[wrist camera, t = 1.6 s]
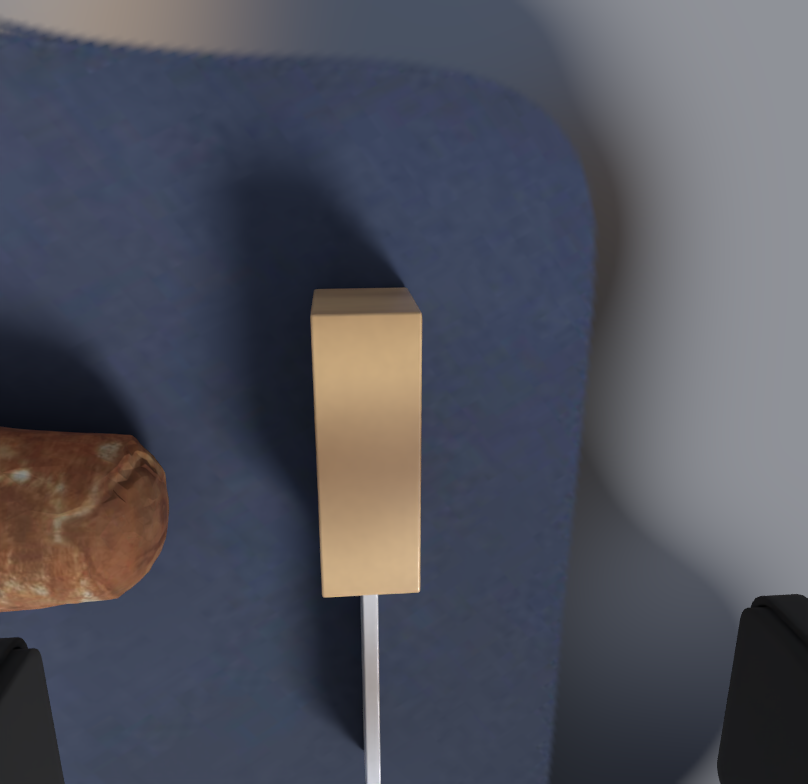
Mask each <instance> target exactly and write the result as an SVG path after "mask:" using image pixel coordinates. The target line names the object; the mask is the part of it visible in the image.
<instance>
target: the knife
mask: <svg viewBox="0 0 808 784" xmlns="http://www.w3.org/2000/svg"><path fill="white" fill-rule="evenodd" d="M310 324H311V347H312V371H313V394H314V418H315V441H316V465H317V488H318V512H319V535H320V559H321V582H322V596H323V597H325V598H326V597H344V596H360V600H361V643H362V686H363V729H364V762H365V781H366V784H381V770H380V700H379V631H378V595H379V594H397V593H415V592H419V591H420V544H421V397H422V313H421V311H420V310H419V308H418V306H417V304H416V303H415V301H414V299H413V297H412V296H411V294H410V292H409V291H408V289H407V288H350V289H315V290H314V294H313V301H312V308H311V315H310Z"/></svg>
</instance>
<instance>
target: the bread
mask: <svg viewBox="0 0 808 784" xmlns="http://www.w3.org/2000/svg"><path fill="white" fill-rule="evenodd" d="M168 516H169V498H168V493H167V488H166V476H165V472H164V470H163V468H162V466H161V465H160V464H159V463H158V462H157V460H156V459H155V457H154V456H153V455H152V454H151V453H150V452H149V451H147V450H146V449H145V448H144V447H143V446H142V445H141V444H140V443H139V441H138V440H137V439H136V438H135V437H134V436H132V435H122V434H104V433H75V432H59V431H41V430H27V429H15V428H7V427H0V612H7V611H19V610H30V609H41V608H46V607H52V606H57V605H62V604H69V603H81V602H89V601H100V600H110V599H115V598H119V597H120V596H121V595H122V594H124V593H125V592H126V591H127V590H129V589H131V588H132V587H133V586H134V585H135V584H137V583H138V582H139V581H140V580H141V579H142V578H143V577H144V576H145V575H146V574H147V573H148V572H149V571H150V569H151V567H152V565H153V563H154V562H155V560H156V559H157V557H158V556H159V554H160V552H161V550H162V547H163V544H164V541H165V539H166V534H167V527H168Z"/></svg>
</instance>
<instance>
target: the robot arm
mask: <svg viewBox="0 0 808 784" xmlns="http://www.w3.org/2000/svg"><path fill="white" fill-rule="evenodd" d="M717 769H718V776H719V780H720V783H721V784H808V598H806V597H805V596H803V595H798V594H791V595H773V596H760V597H757V598H755V600H754V601H753V603H752V605H751V608H747V609H744V611H743V612H742V615H741V618H740V624H739V630H738V636H737V643H736V649H735V655H734V661H733V667H732V673H731V680H730V687H729V692H728V698H727V704H726V711H725V717H724V723H723V729H722V735H721V742H720V748H719V754H718V760H717ZM0 784H65V783H64V778H63V772H62V767H61V761H60V756H59V750H58V745H57V739H56V734H55V728H54V723H53V718H52V712H51V707H50V701H49V696H48V690H47V685H46V679H45V674H44V668H43V663H42V658H41V654H40V652H39V651H38V649H35V648H32V649H28V648H27V644H26V643H25V641H24V640H23V639H22V638H19V637H16V638H0Z"/></svg>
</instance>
